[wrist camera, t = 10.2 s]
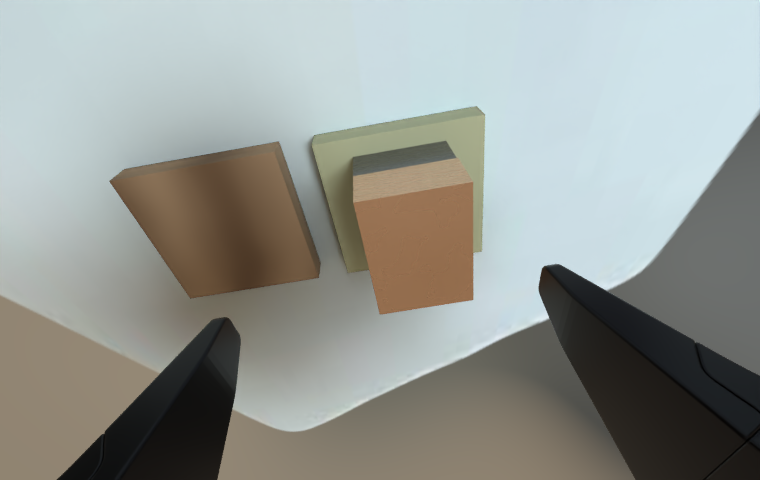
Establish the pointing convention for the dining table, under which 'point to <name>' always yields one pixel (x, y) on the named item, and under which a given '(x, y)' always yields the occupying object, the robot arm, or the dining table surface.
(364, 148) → the stand
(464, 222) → the cover
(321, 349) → the dining table surface
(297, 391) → the dining table surface
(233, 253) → the stand
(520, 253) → the dining table surface
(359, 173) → the base
